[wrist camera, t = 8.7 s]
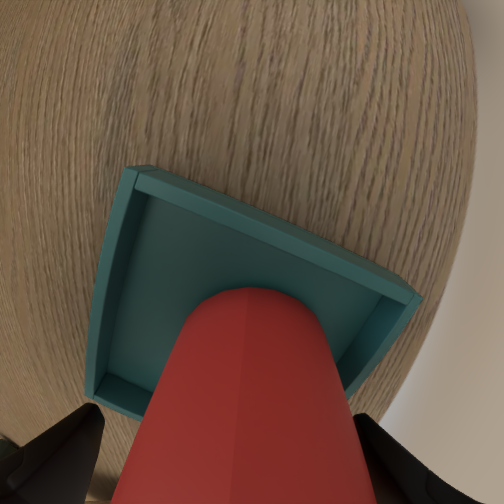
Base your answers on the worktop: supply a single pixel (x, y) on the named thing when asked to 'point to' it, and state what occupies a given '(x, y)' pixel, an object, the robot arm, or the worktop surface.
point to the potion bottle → (5, 449)
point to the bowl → (97, 502)
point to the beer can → (248, 413)
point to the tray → (221, 283)
